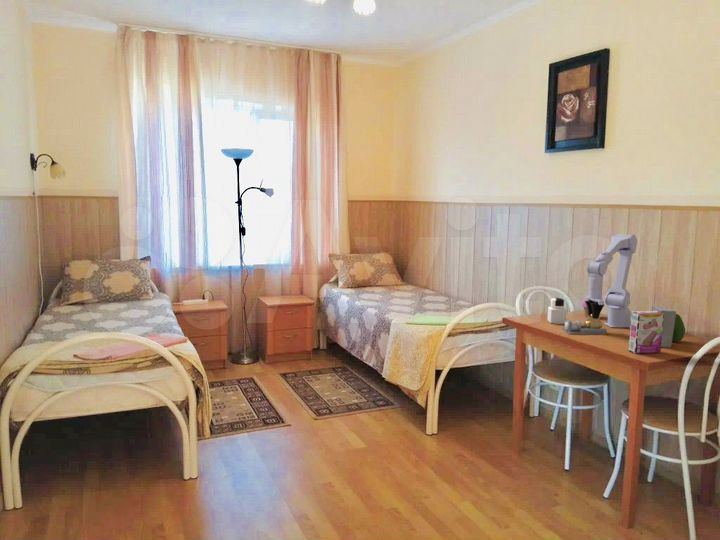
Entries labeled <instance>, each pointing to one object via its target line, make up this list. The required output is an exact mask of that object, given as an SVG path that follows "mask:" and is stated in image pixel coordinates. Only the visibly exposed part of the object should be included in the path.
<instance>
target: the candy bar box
mask: <svg viewBox="0 0 720 540" xmlns="http://www.w3.org/2000/svg"><path fill="white" fill-rule="evenodd" d="M663 320H664V313H662V312H658V311H651V310H632V311H631V320H630V328H629V336H628V337H629V339H628V351H629V352H630V351H631V352H630V353H632V352H633V354H636V355H637V354H660V353H661V349H662V347H661V340H662V330H663Z"/></svg>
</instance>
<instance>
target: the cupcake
mask: <svg viewBox="0 0 720 540" xmlns="http://www.w3.org/2000/svg"><path fill="white" fill-rule="evenodd" d="M588 300H589V299H586V298H584V299H583V300H582V302H581V306H582V307H583V312H584V316H585V317H586V318H587V315H589V313H588V308H587V305H586V303H585V301H588Z"/></svg>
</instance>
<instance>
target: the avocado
mask: <svg viewBox="0 0 720 540" xmlns="http://www.w3.org/2000/svg"><path fill="white" fill-rule="evenodd" d="M685 334H686V327H685V324H684V321H683V319H682V317H681V316H680V315H679V314H678V313H676V317H675V324H674V331H673V338H672V342H674V341H675V343H676V342H680V341H682V340H683V339H684V337H685Z"/></svg>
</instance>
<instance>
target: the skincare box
mask: <svg viewBox="0 0 720 540" xmlns="http://www.w3.org/2000/svg"><path fill="white" fill-rule="evenodd" d="M650 311H658V312H662V313H664V320H663V330H662V340H661V348H671V347H672V342H673V341H672V338H673V331H674V324H675V317H676V314H677V311H676V310H674V309H673V308H670V307H668V306H659V305H658V306H656V305H652V306H651V310H650Z"/></svg>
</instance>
